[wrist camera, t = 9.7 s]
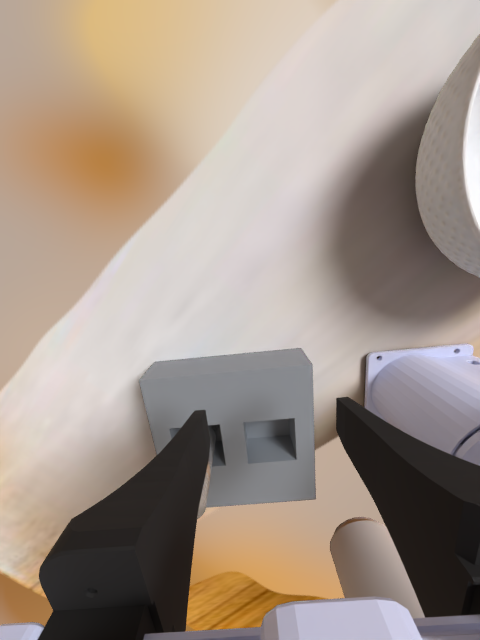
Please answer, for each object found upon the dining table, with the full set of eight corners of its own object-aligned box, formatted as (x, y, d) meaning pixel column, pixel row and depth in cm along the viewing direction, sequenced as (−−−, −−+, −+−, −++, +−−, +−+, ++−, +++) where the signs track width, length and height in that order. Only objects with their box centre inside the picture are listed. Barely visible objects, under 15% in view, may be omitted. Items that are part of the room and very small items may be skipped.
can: (316, 547, 28) (369, 750, 16) (344, 504, 26) (426, 697, 15) (370, 562, 29) (458, 767, 17) (400, 521, 27) (522, 719, 15)
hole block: (300, 347, 21) (312, 364, 18) (305, 466, 25) (315, 499, 21) (154, 361, 22) (138, 380, 18) (179, 476, 25) (170, 510, 22)
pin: (217, 409, 22) (204, 487, 15) (218, 434, 23) (207, 521, 15) (187, 409, 23) (158, 487, 15) (189, 435, 23) (163, 522, 16)
